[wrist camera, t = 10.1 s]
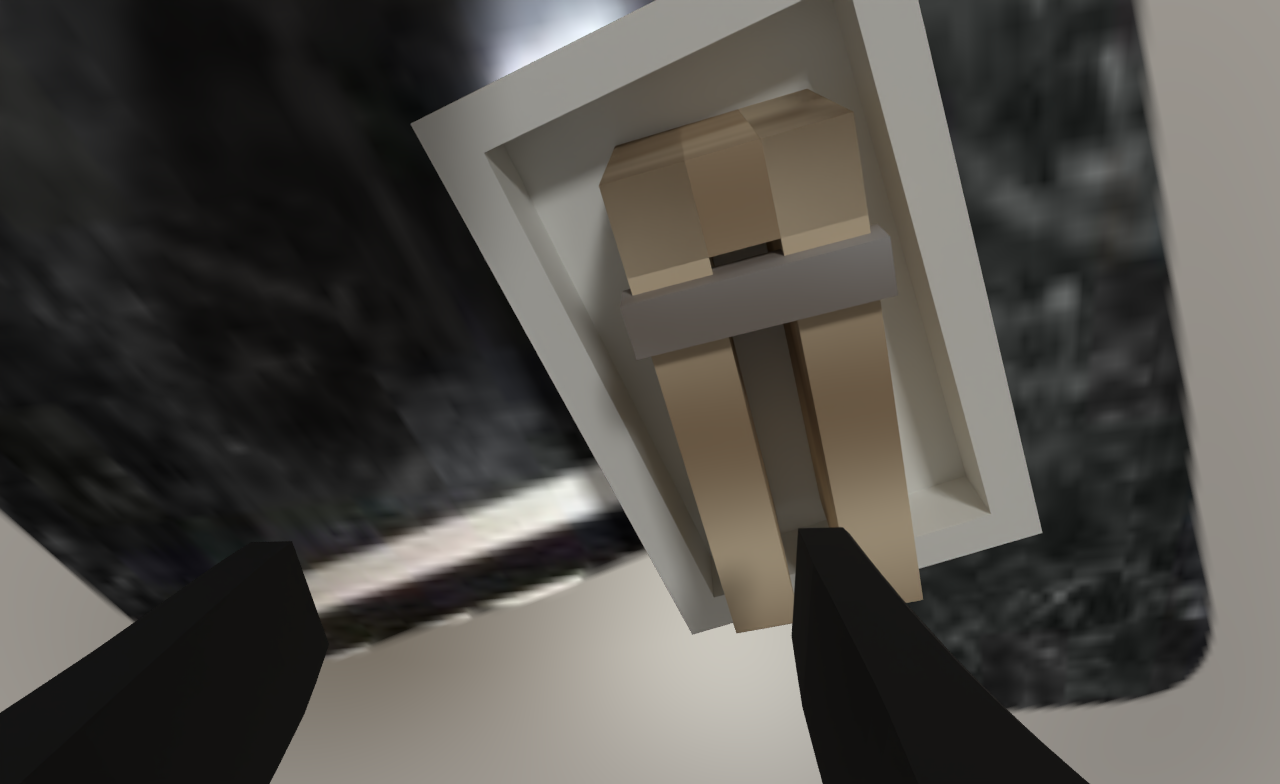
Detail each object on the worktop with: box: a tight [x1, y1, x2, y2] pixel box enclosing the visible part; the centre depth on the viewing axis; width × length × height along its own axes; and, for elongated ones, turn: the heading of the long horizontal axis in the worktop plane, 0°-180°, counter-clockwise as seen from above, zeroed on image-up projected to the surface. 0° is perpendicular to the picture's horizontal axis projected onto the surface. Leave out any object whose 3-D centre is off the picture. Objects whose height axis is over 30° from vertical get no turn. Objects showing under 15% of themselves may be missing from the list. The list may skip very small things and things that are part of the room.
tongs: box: [599, 89, 923, 633], centre depth 15 cm, size 10×4×4 cm, turn 16°
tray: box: [411, 0, 1042, 634], centre depth 16 cm, size 14×9×2 cm, turn 24°
